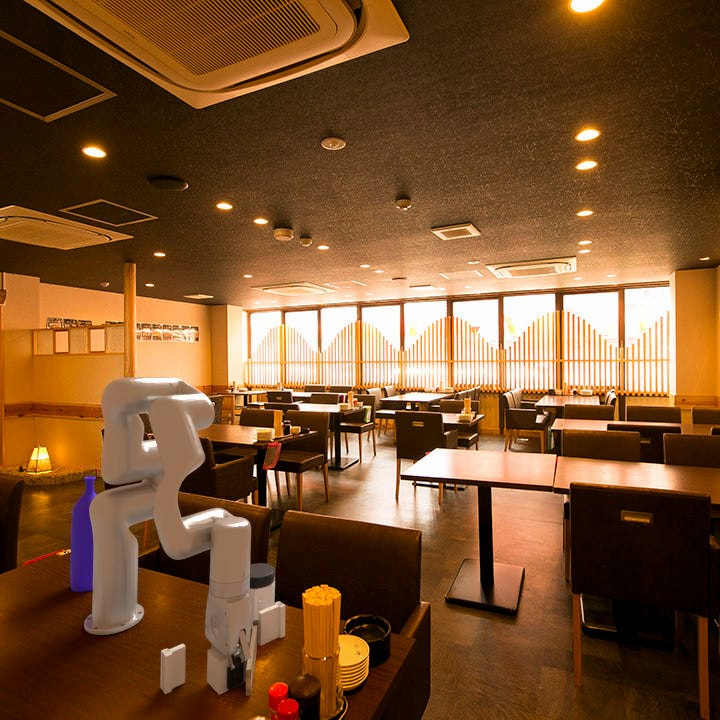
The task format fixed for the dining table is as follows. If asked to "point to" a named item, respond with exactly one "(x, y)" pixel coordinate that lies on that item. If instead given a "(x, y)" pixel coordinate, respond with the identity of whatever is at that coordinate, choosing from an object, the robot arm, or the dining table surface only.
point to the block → (219, 669)
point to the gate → (252, 658)
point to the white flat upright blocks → (174, 658)
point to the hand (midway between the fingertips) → (227, 677)
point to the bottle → (82, 541)
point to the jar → (261, 589)
